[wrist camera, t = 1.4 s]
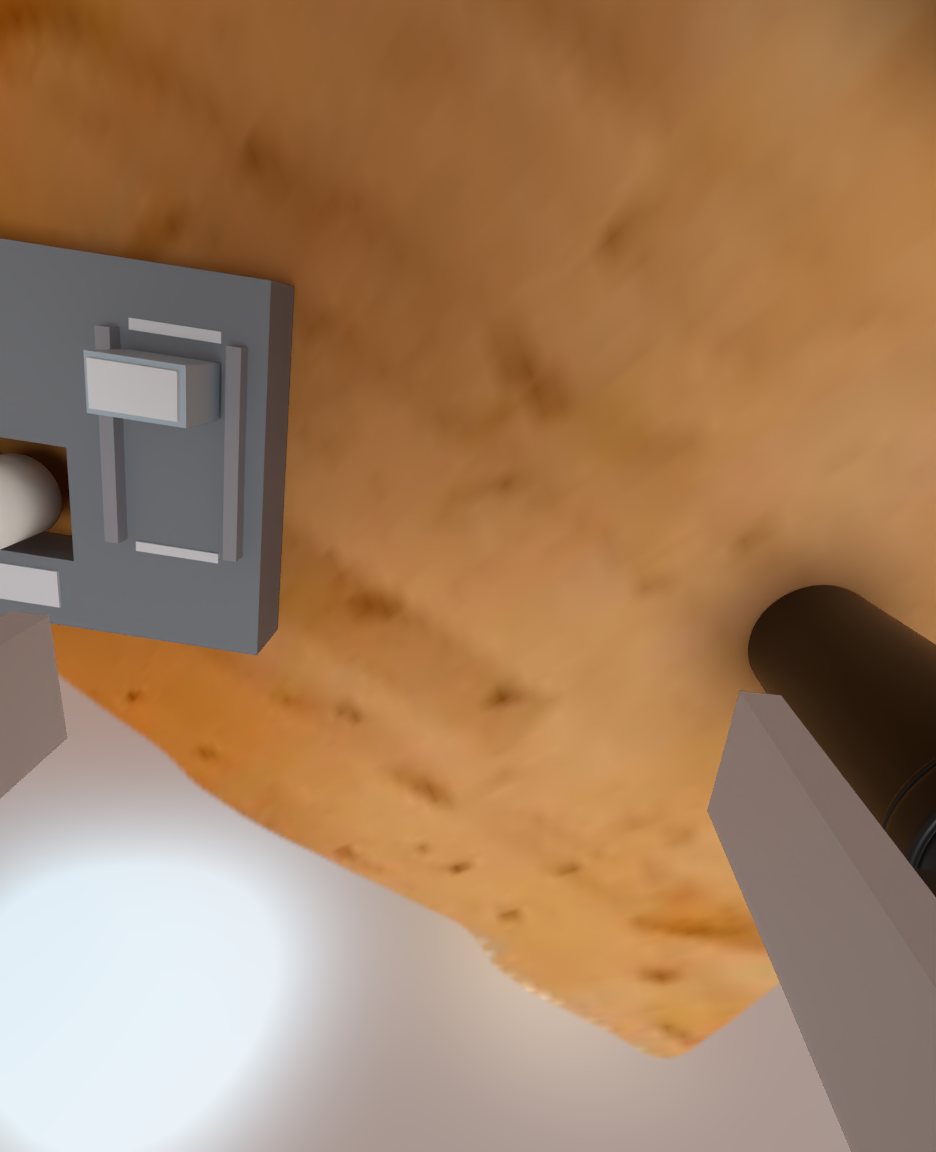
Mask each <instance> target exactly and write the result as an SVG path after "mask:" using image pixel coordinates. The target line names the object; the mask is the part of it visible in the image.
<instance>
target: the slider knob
mask: <svg viewBox="0 0 936 1152" xmlns="http://www.w3.org/2000/svg"><path fill="white" fill-rule="evenodd" d="M83 352H84V370H85V388H86V406H87V413H91V414H97V415H104V416H110V417H117V418H123V419H130V420H136V421H142V422H149V423H155V424H162V425H168V426H175V427H181V428H189V427H193V426H196V425H200V424H204V423H208V422H211V421H215V420H219V399H220V363H215V362H209V361H203V360H196V359H190V358H183V357H177V356H170V355H164V354H158V353H151V352H145V351H138V350H132V349H98V350H83Z"/></svg>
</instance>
